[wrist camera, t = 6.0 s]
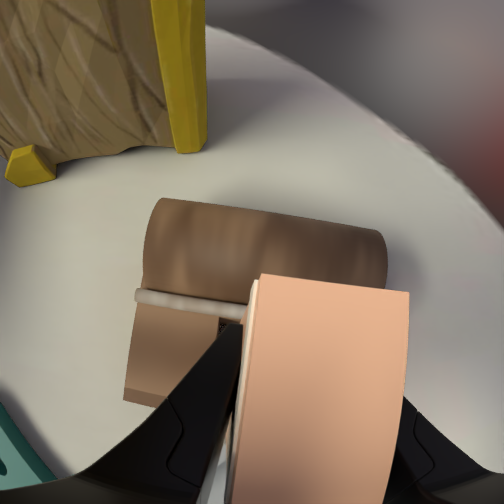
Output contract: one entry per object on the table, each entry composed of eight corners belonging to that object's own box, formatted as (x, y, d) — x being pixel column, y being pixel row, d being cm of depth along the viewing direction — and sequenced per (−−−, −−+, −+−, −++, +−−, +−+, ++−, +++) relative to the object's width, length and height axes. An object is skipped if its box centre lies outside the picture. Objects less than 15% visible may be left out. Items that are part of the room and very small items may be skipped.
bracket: (125, 542, 15) (96, 592, 7) (84, 563, 13) (51, 605, 5) (-13, 376, 18) (-75, 372, 10) (-40, 411, 16) (-95, 414, 8)
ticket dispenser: (339, 415, 20) (382, 435, 13) (140, 392, 19) (105, 407, 13) (352, 253, 24) (393, 217, 17) (170, 226, 23) (152, 179, 17)
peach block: (276, 417, 14) (378, 524, 3) (224, 412, 14) (223, 531, 3) (286, 336, 15) (411, 289, 5) (235, 329, 15) (258, 268, 4)
